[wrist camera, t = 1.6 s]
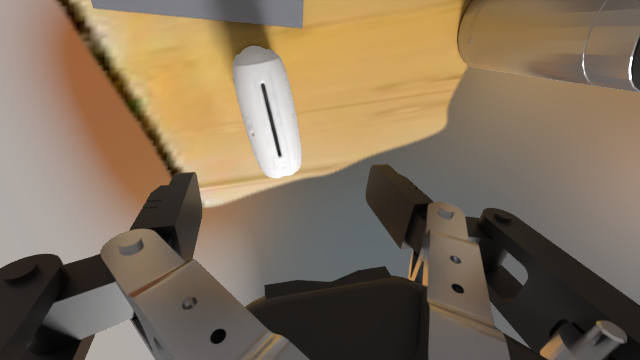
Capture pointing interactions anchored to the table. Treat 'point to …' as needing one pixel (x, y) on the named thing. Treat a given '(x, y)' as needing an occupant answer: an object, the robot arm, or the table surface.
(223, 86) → the table surface
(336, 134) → the table surface
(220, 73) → the table surface
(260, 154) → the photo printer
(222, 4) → the dock
